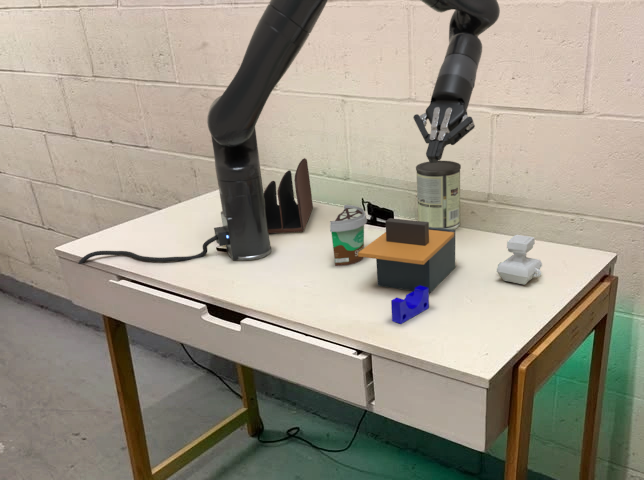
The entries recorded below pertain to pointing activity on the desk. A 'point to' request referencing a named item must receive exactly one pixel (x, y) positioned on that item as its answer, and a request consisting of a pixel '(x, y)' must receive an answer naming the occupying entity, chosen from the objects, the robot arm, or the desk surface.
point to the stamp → (519, 261)
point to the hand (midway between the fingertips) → (432, 160)
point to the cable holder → (410, 304)
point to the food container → (348, 235)
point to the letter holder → (289, 202)
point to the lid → (407, 242)
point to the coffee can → (439, 194)
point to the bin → (418, 269)
